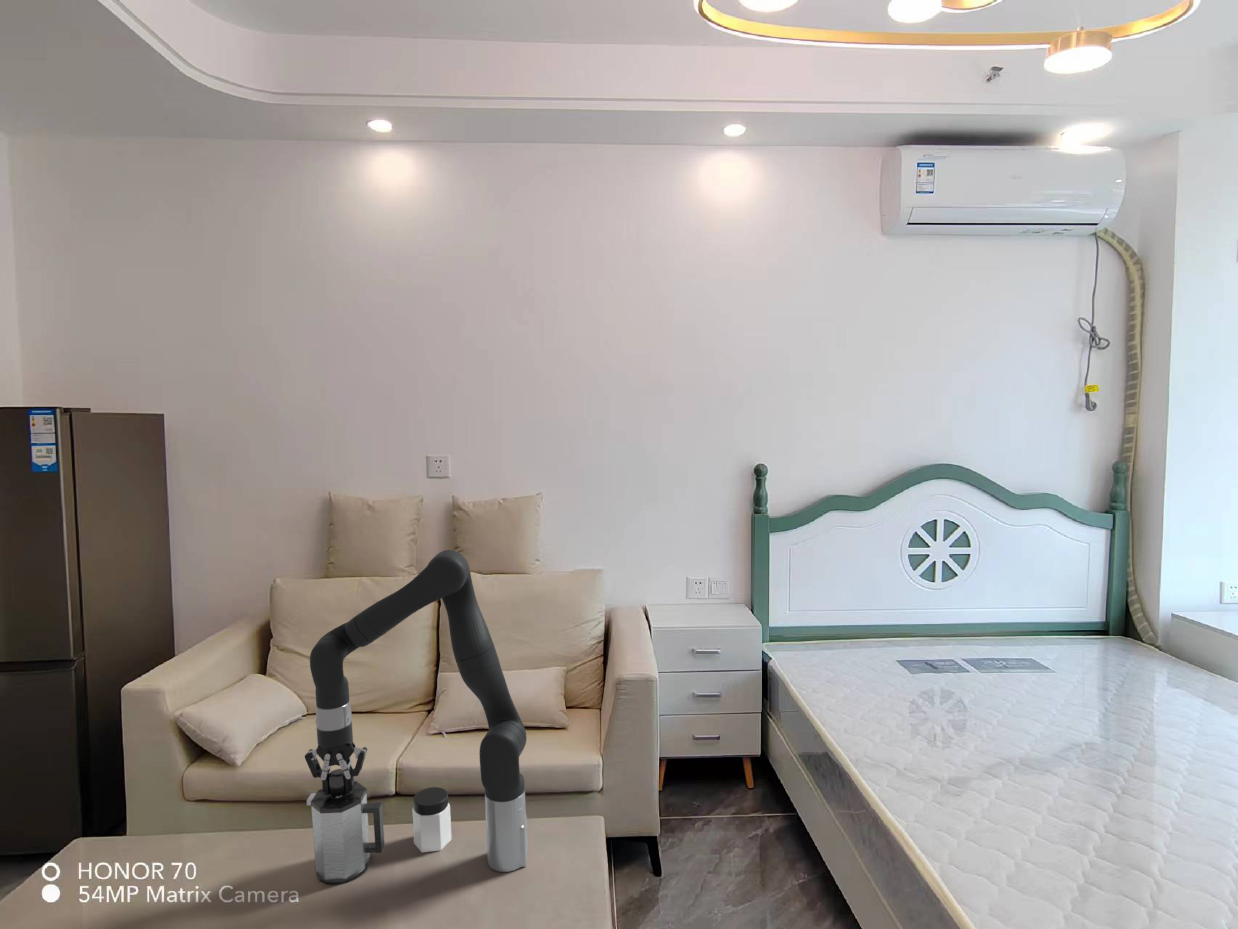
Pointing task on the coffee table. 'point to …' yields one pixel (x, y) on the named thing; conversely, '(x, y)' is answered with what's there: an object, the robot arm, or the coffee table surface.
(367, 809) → the press pot
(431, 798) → the jar
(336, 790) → the plunger
